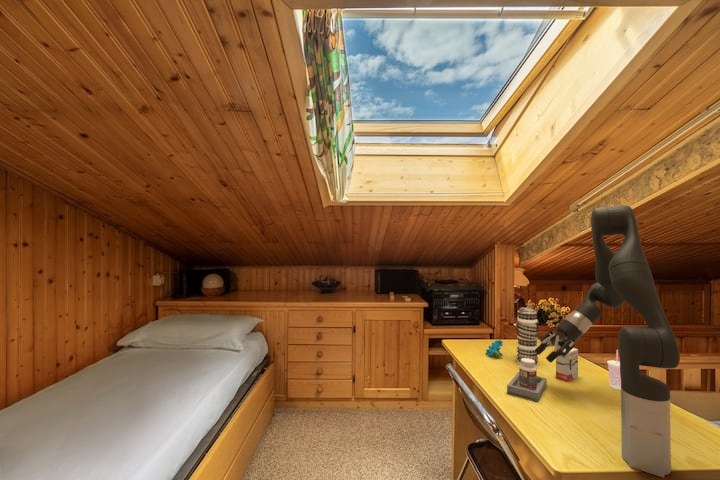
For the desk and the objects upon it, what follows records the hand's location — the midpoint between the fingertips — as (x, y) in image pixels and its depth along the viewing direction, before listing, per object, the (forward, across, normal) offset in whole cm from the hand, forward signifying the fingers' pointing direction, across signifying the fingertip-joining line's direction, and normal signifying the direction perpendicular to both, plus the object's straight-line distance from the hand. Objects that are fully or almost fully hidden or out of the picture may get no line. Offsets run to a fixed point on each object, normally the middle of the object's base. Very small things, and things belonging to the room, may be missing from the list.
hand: (542, 356), depth 121 cm
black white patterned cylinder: (+4, -27, +14) cm, 31 cm away
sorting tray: (+13, 0, +5) cm, 14 cm away
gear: (+12, -37, +6) cm, 39 cm away
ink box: (-2, -12, +20) cm, 23 cm away
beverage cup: (-12, -5, +30) cm, 33 cm away
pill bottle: (+12, 0, +5) cm, 13 cm away
